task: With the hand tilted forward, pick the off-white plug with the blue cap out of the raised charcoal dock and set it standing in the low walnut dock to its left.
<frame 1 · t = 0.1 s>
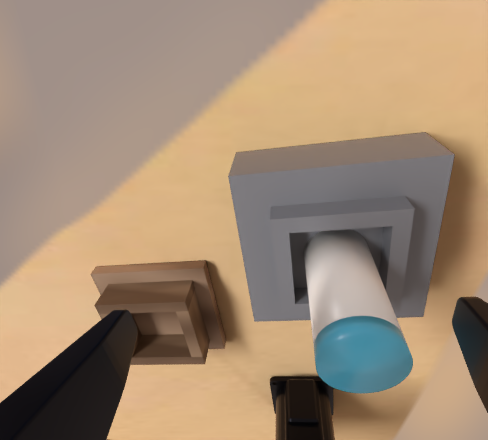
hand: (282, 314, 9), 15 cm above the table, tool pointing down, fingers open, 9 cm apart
upper dock: (327, 221, 24), on the table
plug: (335, 253, 21), point 4 cm above the table, touching upper dock
low dock: (164, 305, 31), on the table
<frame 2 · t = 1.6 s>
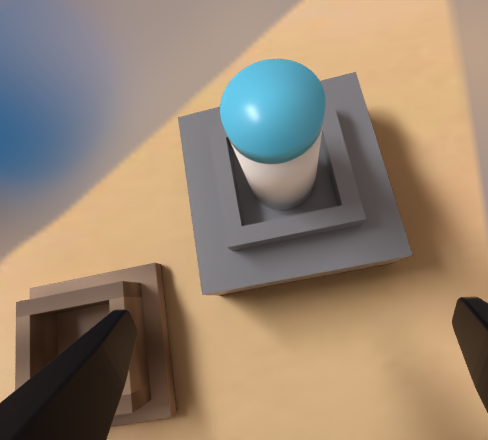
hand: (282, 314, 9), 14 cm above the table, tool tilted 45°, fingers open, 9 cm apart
upper dock: (285, 197, 24), on the table
plug: (282, 178, 20), point 4 cm above the table, touching upper dock
low dock: (102, 345, 24), on the table
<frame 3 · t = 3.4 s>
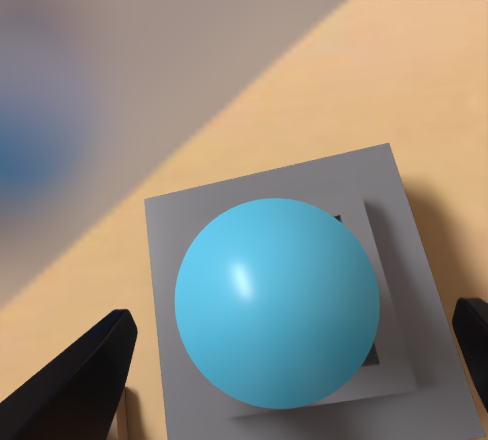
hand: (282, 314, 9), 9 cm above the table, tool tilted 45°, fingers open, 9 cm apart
upper dock: (289, 299, 18), on the table
plug: (287, 298, 14), point 4 cm above the table, touching upper dock
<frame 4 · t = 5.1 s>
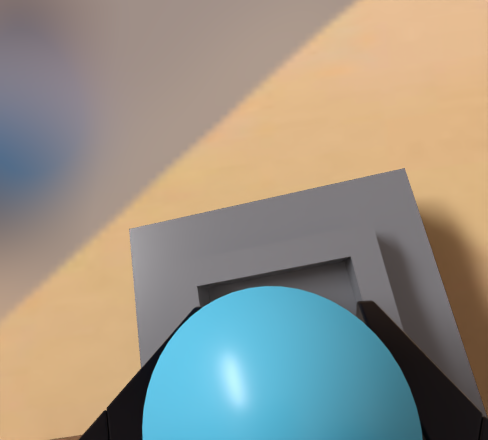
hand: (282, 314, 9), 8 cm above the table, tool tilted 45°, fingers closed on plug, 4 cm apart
upper dock: (291, 336, 16), on the table
plug: (289, 348, 12), point 4 cm above the table, touching gripper, upper dock
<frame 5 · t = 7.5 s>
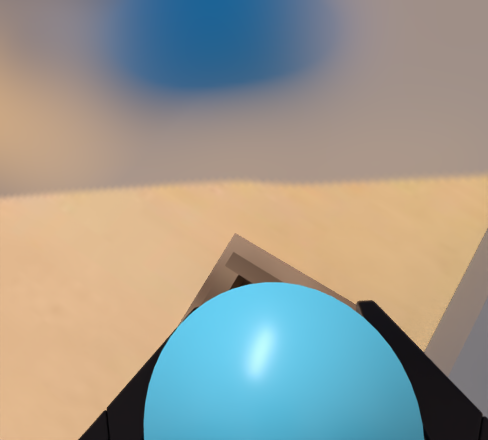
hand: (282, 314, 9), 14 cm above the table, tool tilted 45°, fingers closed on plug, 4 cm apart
plug: (290, 346, 12), point 10 cm above the table, touching gripper
low dock: (260, 335, 22), on the table
when the fingers open (7 cm above the table, at t = 10.1 s): plug drops 2 cm, resting on low dock.
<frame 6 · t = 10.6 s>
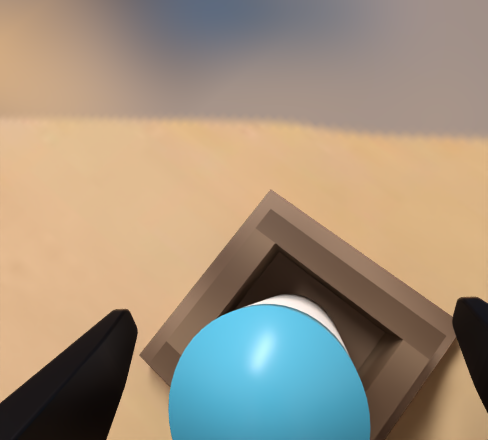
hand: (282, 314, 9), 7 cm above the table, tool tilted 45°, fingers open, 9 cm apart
plug: (290, 341, 14), point 1 cm above the table, touching low dock
low dock: (291, 338, 15), on the table
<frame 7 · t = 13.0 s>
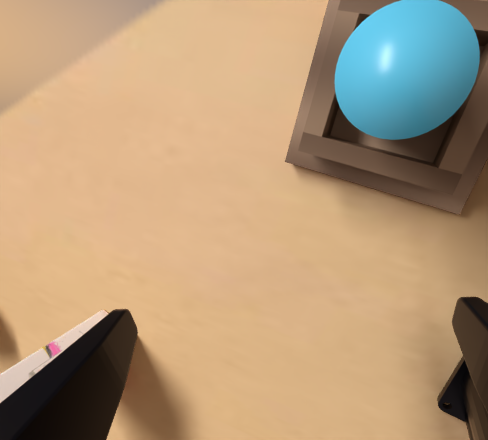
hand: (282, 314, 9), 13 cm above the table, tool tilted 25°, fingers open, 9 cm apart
ink cartridge box: (113, 347, 34), on the table
plug: (398, 95, 17), point 1 cm above the table, touching low dock
low dock: (398, 97, 18), on the table
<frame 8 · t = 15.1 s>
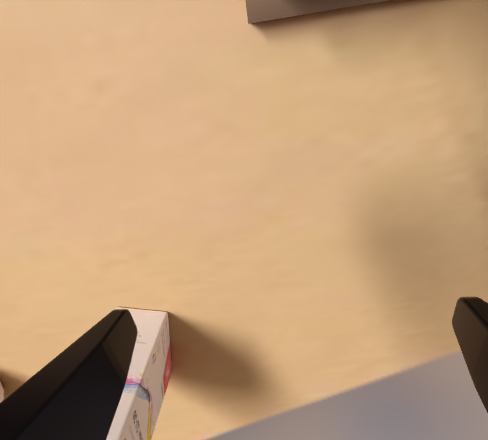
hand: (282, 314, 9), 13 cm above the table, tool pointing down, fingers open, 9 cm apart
ink cartridge box: (148, 337, 31), on the table
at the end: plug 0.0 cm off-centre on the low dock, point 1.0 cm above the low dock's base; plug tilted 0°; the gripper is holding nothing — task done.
